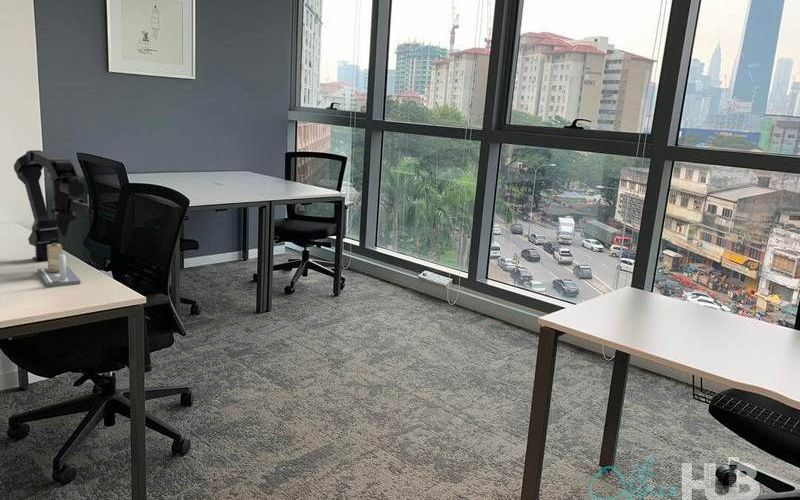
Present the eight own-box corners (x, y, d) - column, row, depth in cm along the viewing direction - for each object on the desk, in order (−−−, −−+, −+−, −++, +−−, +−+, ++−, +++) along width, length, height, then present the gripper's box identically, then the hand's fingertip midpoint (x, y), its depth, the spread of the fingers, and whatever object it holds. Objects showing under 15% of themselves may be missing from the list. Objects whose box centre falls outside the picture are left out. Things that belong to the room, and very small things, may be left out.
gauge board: (37, 272, 217) (35, 244, 215) (68, 269, 223) (67, 242, 221) (47, 287, 202) (45, 257, 200) (80, 283, 208) (79, 255, 206)
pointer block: (48, 269, 216) (46, 242, 214) (60, 268, 219) (59, 241, 217) (50, 272, 213) (49, 245, 211) (63, 271, 216) (61, 244, 213)
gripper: (90, 196, 216) (92, 239, 220) (83, 190, 231) (85, 230, 235) (55, 197, 210) (57, 241, 213) (49, 190, 225) (52, 232, 228)
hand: (64, 236), depth 223 cm, fingers closed
